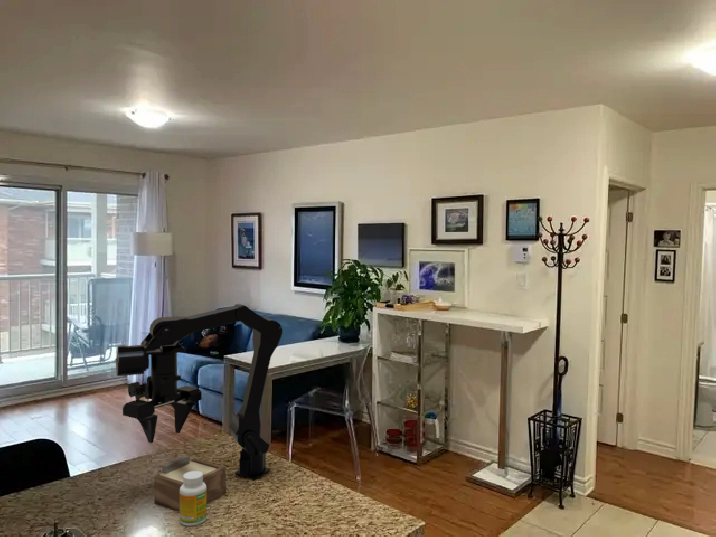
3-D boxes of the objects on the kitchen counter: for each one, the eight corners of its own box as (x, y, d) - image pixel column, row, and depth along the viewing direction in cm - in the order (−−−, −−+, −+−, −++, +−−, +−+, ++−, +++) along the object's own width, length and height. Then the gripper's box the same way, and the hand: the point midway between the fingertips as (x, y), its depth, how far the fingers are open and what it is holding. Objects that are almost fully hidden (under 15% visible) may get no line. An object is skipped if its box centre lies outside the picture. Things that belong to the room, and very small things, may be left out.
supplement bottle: (198, 527, 113) (198, 481, 113) (174, 525, 114) (174, 478, 114) (210, 515, 118) (210, 470, 118) (187, 512, 119) (187, 468, 119)
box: (194, 483, 134) (194, 458, 134) (225, 493, 129) (225, 466, 129) (154, 503, 123) (154, 476, 123) (186, 514, 118) (186, 486, 118)
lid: (189, 463, 132) (189, 453, 132) (217, 471, 128) (217, 461, 128) (158, 477, 124) (158, 466, 124) (187, 486, 120) (187, 475, 120)
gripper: (171, 361, 141) (171, 421, 142) (106, 375, 125) (107, 443, 126) (203, 366, 136) (203, 428, 136) (139, 381, 120) (140, 452, 120)
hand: (164, 437), depth 130 cm, fingers open, 8 cm apart
